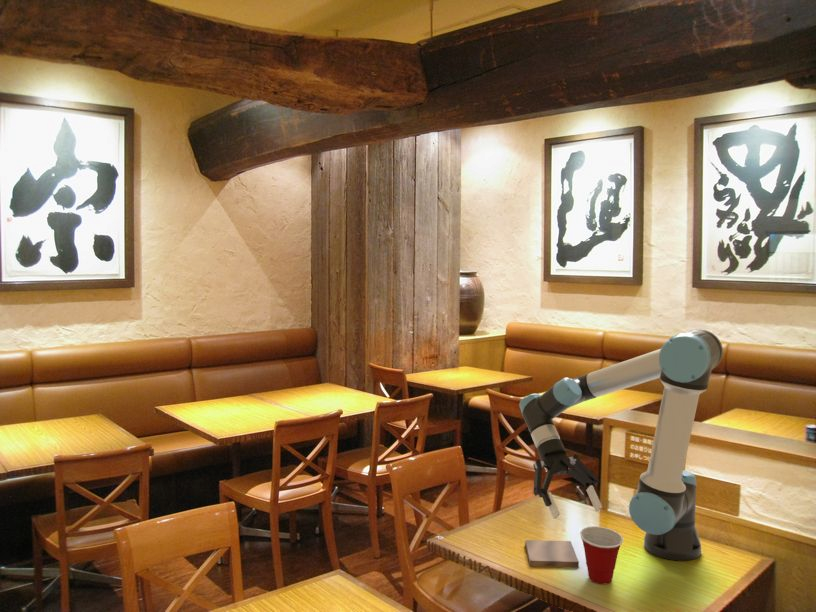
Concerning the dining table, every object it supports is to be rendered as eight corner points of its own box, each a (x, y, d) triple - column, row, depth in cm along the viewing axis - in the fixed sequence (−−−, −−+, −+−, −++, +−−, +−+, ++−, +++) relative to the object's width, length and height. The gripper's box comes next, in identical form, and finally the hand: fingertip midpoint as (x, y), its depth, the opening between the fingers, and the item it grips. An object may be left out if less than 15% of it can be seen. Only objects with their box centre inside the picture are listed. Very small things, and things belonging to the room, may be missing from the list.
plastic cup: (597, 593, 168) (598, 547, 167) (570, 574, 178) (571, 530, 177) (631, 584, 172) (632, 539, 171) (603, 566, 182) (604, 523, 181)
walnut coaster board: (570, 546, 195) (570, 541, 195) (578, 567, 182) (578, 561, 182) (525, 545, 196) (525, 540, 196) (530, 566, 183) (530, 560, 183)
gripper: (579, 445, 203) (609, 512, 190) (506, 455, 194) (533, 525, 181) (590, 432, 197) (622, 500, 185) (515, 442, 188) (543, 513, 176)
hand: (578, 513), depth 183 cm, fingers open, 13 cm apart
